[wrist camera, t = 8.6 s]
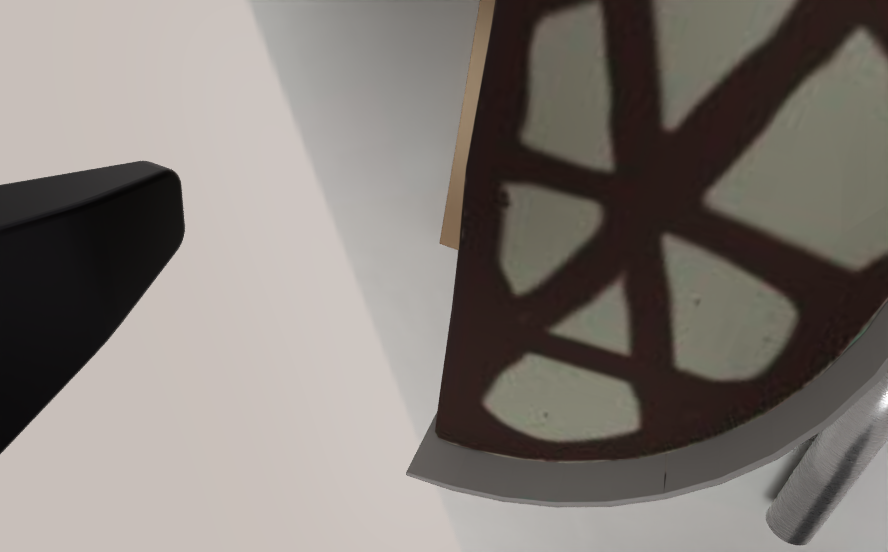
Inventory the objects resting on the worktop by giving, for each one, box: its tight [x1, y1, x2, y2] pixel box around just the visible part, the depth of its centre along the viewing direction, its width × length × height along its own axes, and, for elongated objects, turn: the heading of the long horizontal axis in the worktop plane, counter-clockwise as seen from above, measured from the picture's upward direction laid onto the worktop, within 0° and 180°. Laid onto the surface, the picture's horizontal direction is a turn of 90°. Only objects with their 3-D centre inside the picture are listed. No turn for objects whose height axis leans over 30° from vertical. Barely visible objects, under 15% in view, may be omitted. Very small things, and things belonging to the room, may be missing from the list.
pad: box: [440, 0, 495, 250], centre depth 17 cm, size 15×9×1 cm, turn 172°
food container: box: [406, 0, 888, 507], centre depth 12 cm, size 12×6×10 cm, turn 174°
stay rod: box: [766, 372, 888, 545], centre depth 20 cm, size 10×1×1 cm, turn 172°
